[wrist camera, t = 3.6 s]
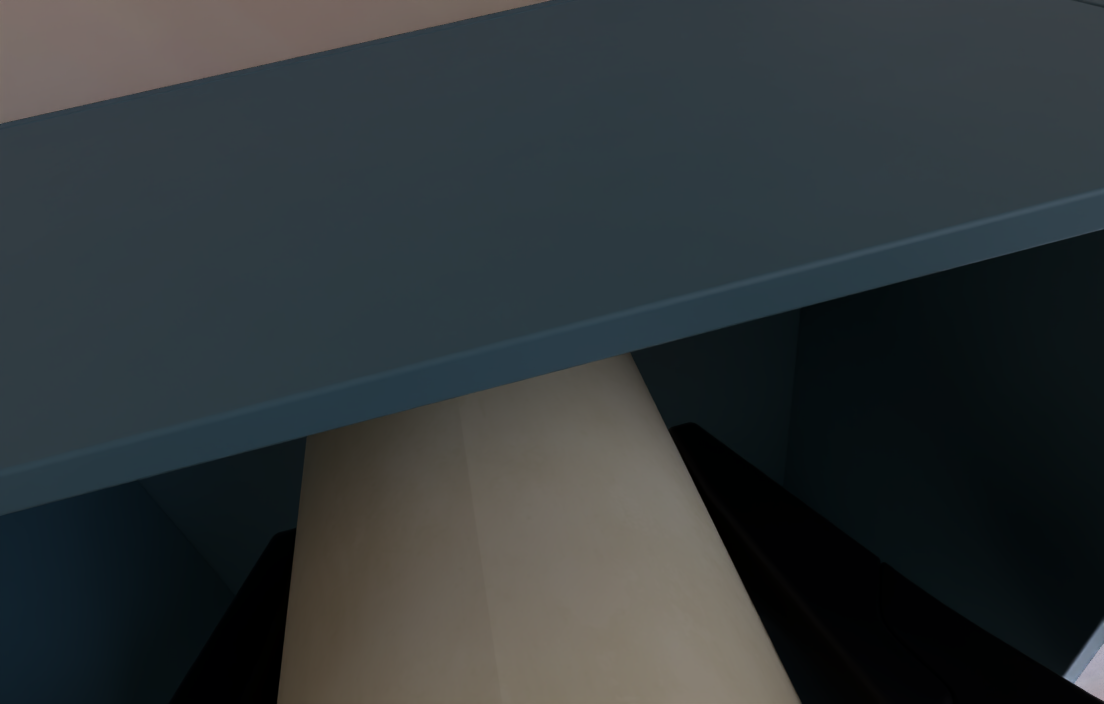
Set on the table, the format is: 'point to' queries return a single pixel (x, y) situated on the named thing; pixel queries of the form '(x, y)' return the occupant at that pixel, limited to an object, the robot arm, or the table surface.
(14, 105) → the table surface
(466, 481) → the candle
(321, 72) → the carton
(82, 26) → the table surface
